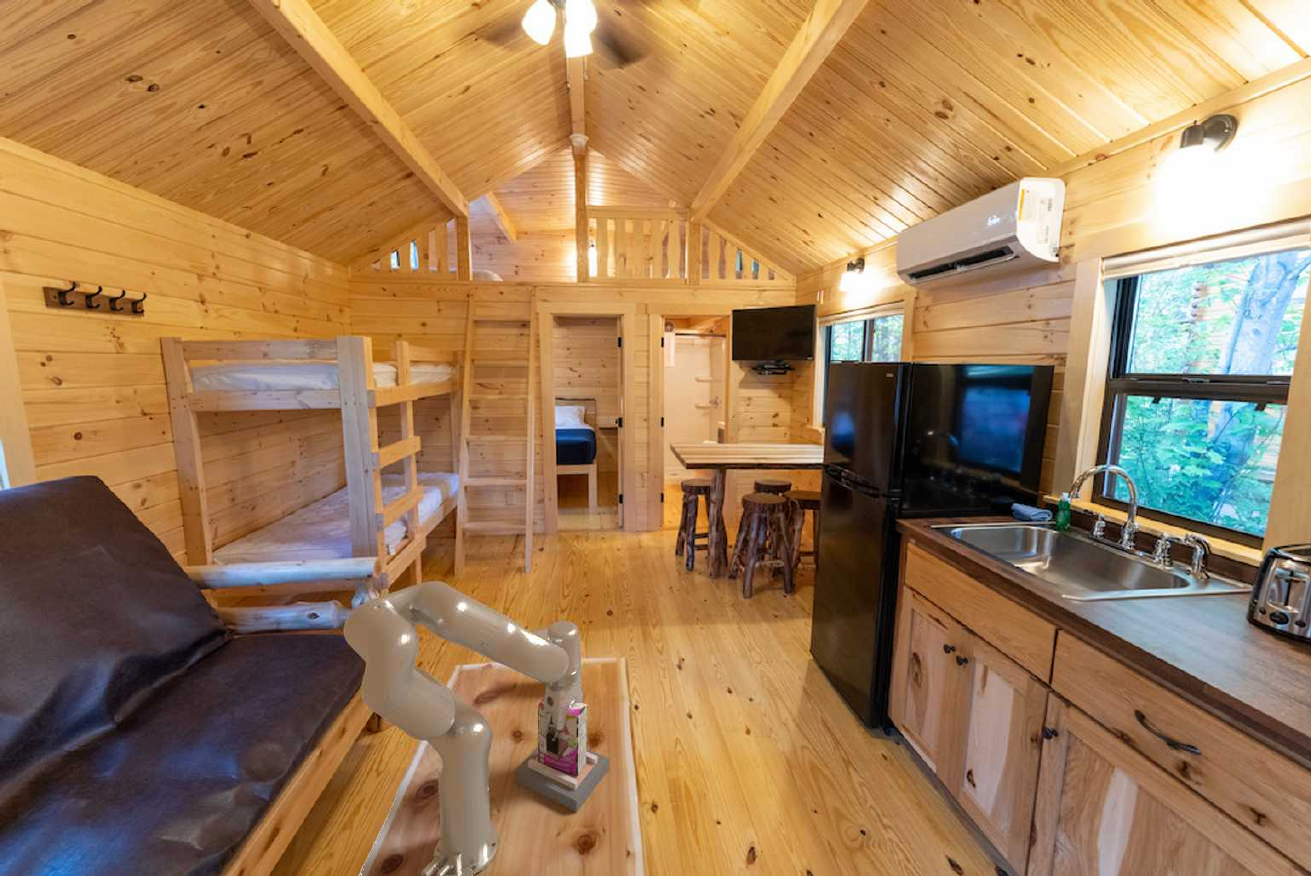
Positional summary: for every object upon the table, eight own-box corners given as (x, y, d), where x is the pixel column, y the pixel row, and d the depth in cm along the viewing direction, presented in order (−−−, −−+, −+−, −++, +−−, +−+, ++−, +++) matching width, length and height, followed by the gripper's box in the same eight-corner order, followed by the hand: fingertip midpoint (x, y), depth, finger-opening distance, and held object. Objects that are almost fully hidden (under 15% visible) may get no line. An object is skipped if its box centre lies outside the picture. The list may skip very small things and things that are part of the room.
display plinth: (576, 812, 115) (576, 795, 114) (515, 781, 123) (514, 765, 122) (609, 768, 127) (609, 752, 126) (551, 743, 135) (551, 728, 134)
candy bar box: (537, 765, 124) (536, 704, 121) (547, 751, 128) (547, 692, 126) (578, 778, 120) (578, 716, 117) (587, 763, 125) (588, 702, 122)
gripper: (552, 700, 111) (553, 771, 114) (595, 659, 127) (595, 723, 129) (525, 690, 114) (526, 759, 117) (571, 651, 130) (571, 713, 133)
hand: (562, 740), depth 123 cm, fingers open, 7 cm apart
